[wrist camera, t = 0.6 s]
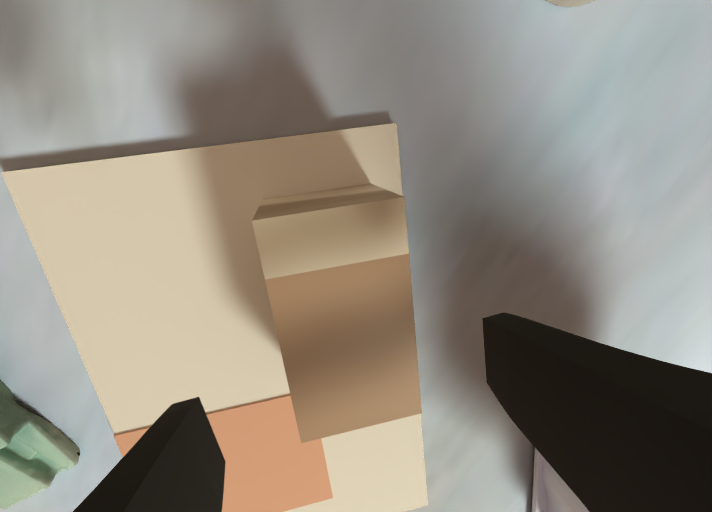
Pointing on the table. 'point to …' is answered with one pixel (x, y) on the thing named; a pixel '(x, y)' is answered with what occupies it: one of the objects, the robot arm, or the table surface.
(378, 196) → the two tone block
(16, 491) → the money
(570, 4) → the coffee cup
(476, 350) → the table surface
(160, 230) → the mat
